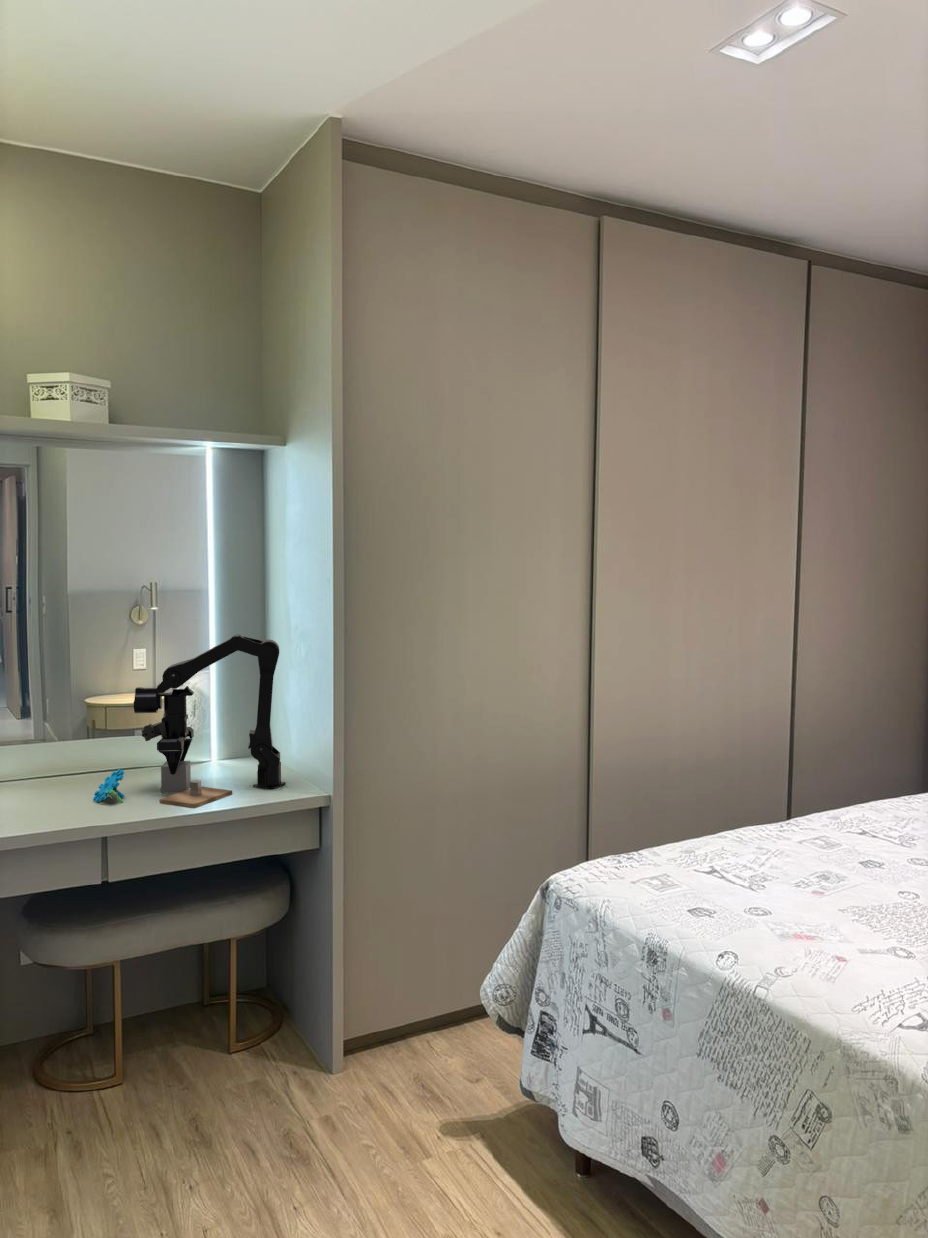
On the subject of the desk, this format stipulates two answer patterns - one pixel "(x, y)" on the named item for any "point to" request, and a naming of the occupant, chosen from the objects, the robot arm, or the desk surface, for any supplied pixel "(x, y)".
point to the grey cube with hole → (176, 778)
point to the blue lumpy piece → (110, 787)
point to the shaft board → (196, 796)
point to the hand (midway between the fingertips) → (176, 770)
